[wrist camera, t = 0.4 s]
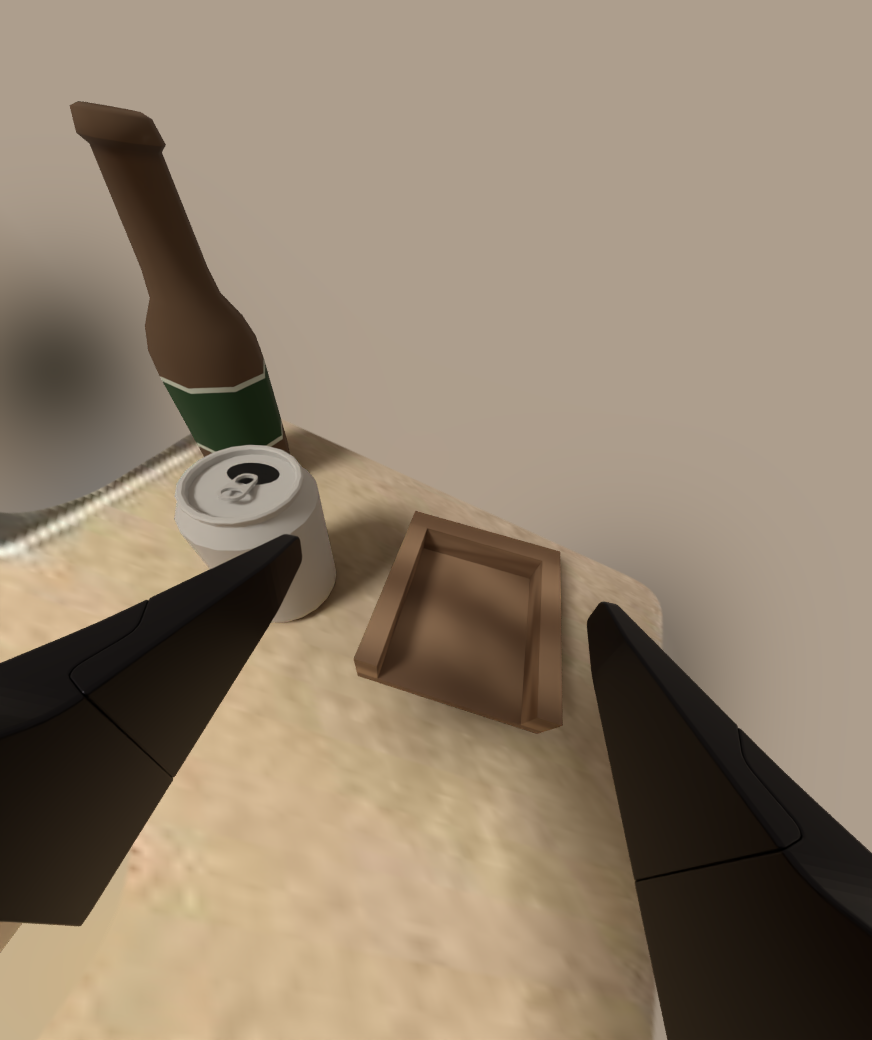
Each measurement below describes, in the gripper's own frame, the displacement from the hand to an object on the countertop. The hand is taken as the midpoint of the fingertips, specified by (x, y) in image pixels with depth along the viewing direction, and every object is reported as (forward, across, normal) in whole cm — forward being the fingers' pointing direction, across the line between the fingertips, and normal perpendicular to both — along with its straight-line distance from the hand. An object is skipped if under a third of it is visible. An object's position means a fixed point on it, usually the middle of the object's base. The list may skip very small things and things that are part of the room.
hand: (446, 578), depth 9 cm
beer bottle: (+22, +21, +12) cm, 33 cm away
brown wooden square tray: (+10, -3, +15) cm, 18 cm away
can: (+10, +12, +15) cm, 21 cm away
